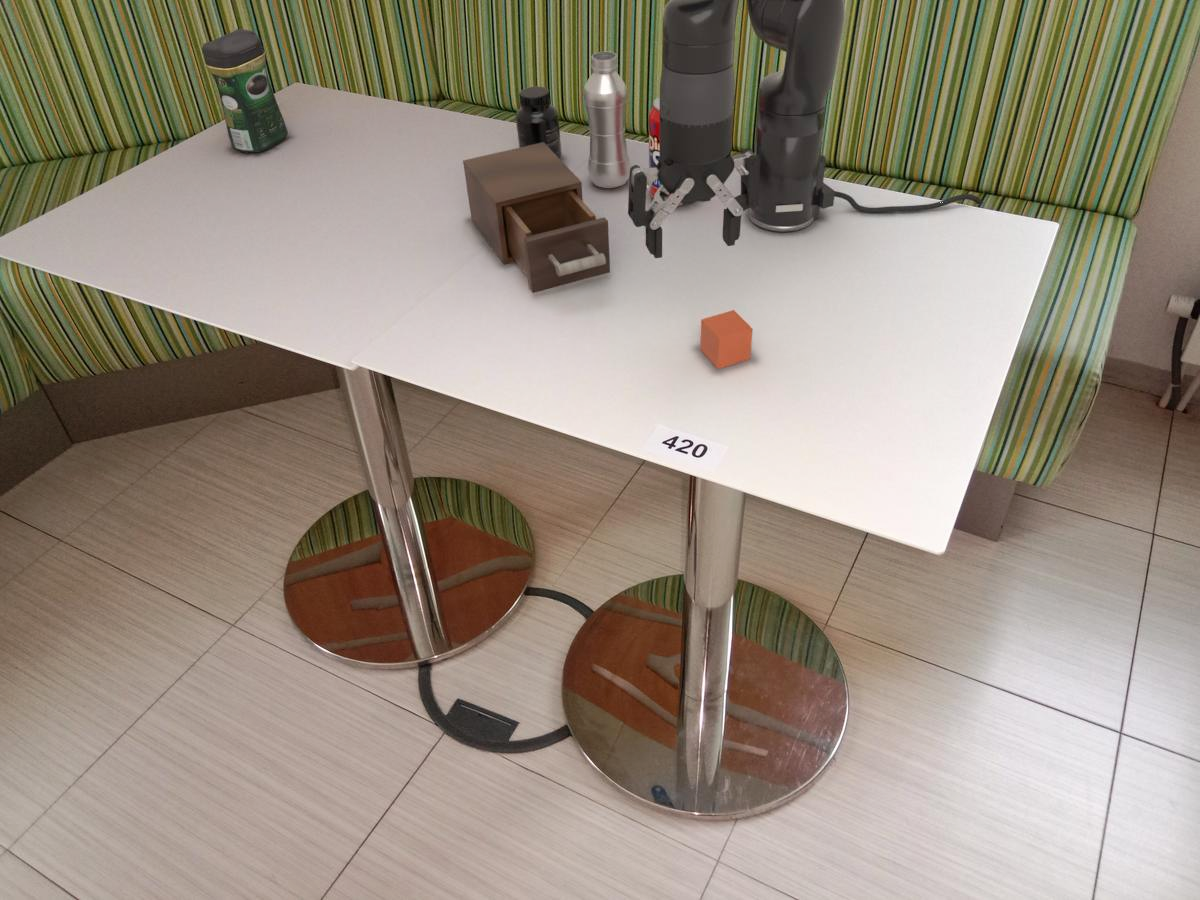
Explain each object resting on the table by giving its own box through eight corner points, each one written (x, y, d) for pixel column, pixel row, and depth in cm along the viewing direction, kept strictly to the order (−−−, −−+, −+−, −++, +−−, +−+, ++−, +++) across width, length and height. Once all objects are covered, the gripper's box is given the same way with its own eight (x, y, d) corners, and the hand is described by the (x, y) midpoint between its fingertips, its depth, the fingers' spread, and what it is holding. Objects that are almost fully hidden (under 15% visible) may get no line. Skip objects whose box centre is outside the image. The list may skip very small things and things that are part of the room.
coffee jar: (264, 128, 176) (233, 22, 163) (296, 136, 172) (267, 28, 160) (224, 149, 170) (189, 41, 157) (256, 158, 166) (223, 48, 154)
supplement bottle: (555, 151, 163) (549, 80, 155) (567, 168, 158) (562, 95, 150) (516, 158, 162) (508, 87, 154) (526, 176, 157) (519, 103, 149)
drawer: (624, 288, 129) (622, 236, 124) (544, 310, 126) (539, 258, 121) (572, 228, 142) (569, 179, 136) (499, 247, 138) (492, 197, 133)
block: (732, 339, 121) (733, 309, 118) (750, 359, 118) (752, 328, 115) (700, 349, 120) (701, 319, 117) (717, 369, 116) (719, 338, 113)
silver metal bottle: (627, 194, 151) (623, 64, 137) (584, 192, 152) (576, 63, 138) (634, 175, 155) (631, 48, 142) (593, 173, 156) (586, 47, 143)
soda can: (691, 182, 153) (693, 87, 143) (707, 205, 147) (710, 108, 137) (643, 189, 151) (641, 95, 141) (657, 213, 146) (657, 116, 136)
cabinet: (585, 243, 140) (581, 181, 134) (503, 264, 137) (495, 202, 130) (548, 201, 150) (543, 141, 144) (471, 220, 147) (462, 160, 140)
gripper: (749, 85, 102) (740, 224, 113) (619, 102, 100) (622, 243, 111) (776, 111, 97) (764, 255, 107) (639, 131, 94) (640, 275, 105)
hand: (692, 248), depth 109 cm, fingers open, 8 cm apart
